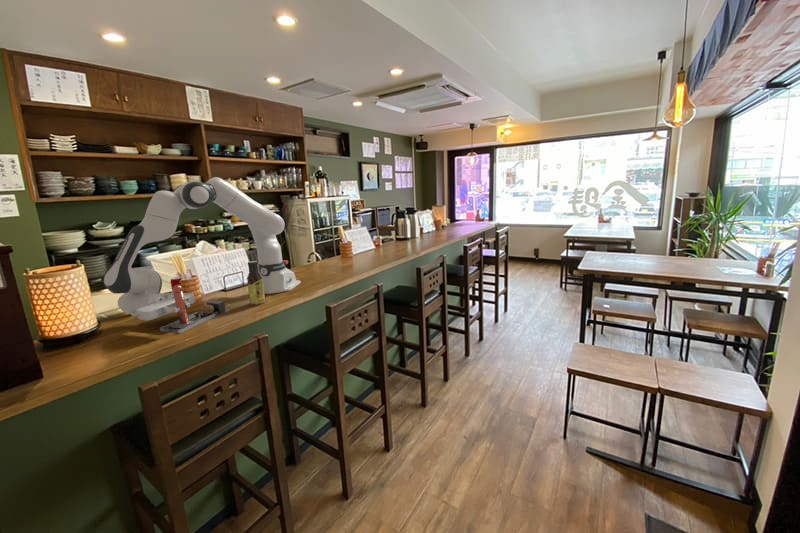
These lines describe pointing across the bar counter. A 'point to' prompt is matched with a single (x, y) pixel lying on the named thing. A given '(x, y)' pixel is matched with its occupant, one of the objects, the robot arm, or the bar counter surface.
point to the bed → (199, 318)
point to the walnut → (208, 309)
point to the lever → (181, 309)
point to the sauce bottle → (255, 284)
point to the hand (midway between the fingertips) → (183, 307)
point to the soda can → (175, 281)
